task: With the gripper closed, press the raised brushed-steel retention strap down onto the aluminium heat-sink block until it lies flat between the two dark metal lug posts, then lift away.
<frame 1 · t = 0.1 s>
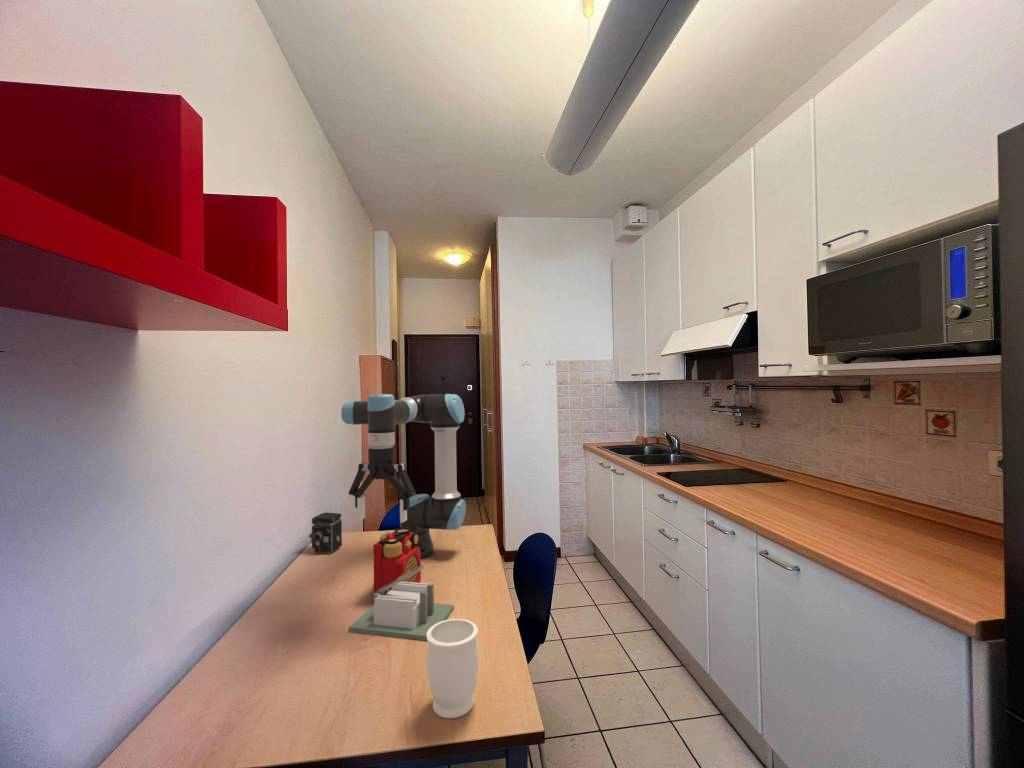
hand: (382, 520, 125), 28 cm above the table, fingers open, 13 cm apart
strap: (399, 580, 123), point 11 cm above the table, hinge at 30.0°
radio: (398, 592, 140), on the table
heatsink: (403, 619, 122), on the table
jar: (453, 705, 88), on the table
camera: (325, 551, 179), on the table
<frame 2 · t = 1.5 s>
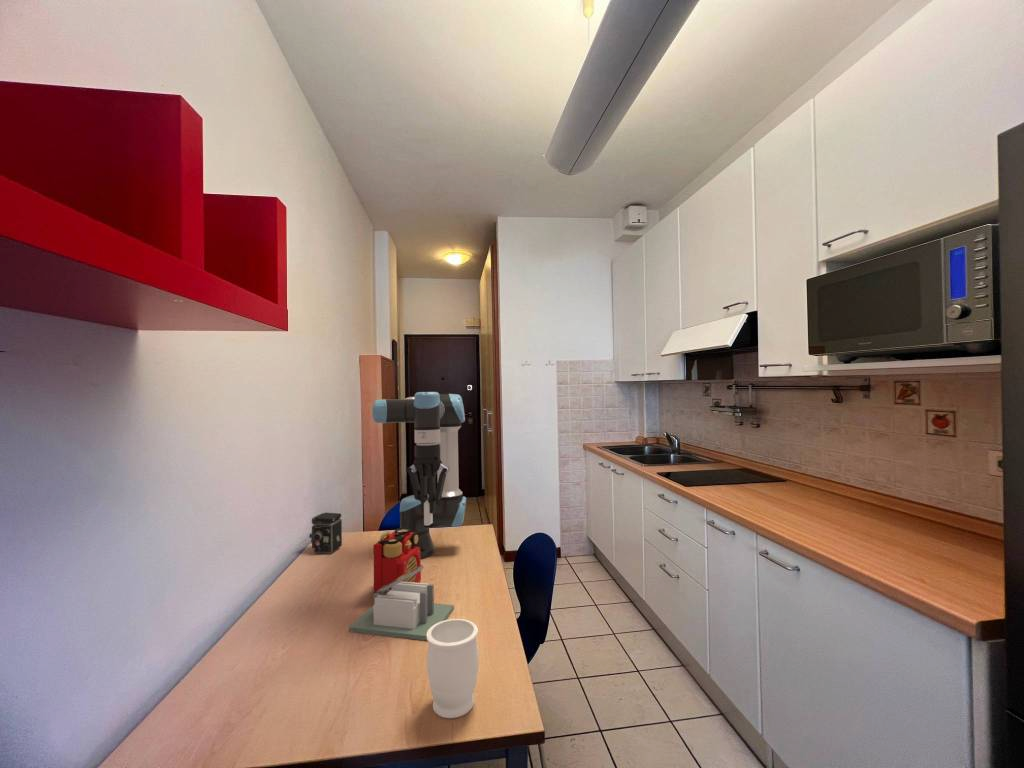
hand: (428, 523, 126), 26 cm above the table, fingers closed
nothing on the table moved.
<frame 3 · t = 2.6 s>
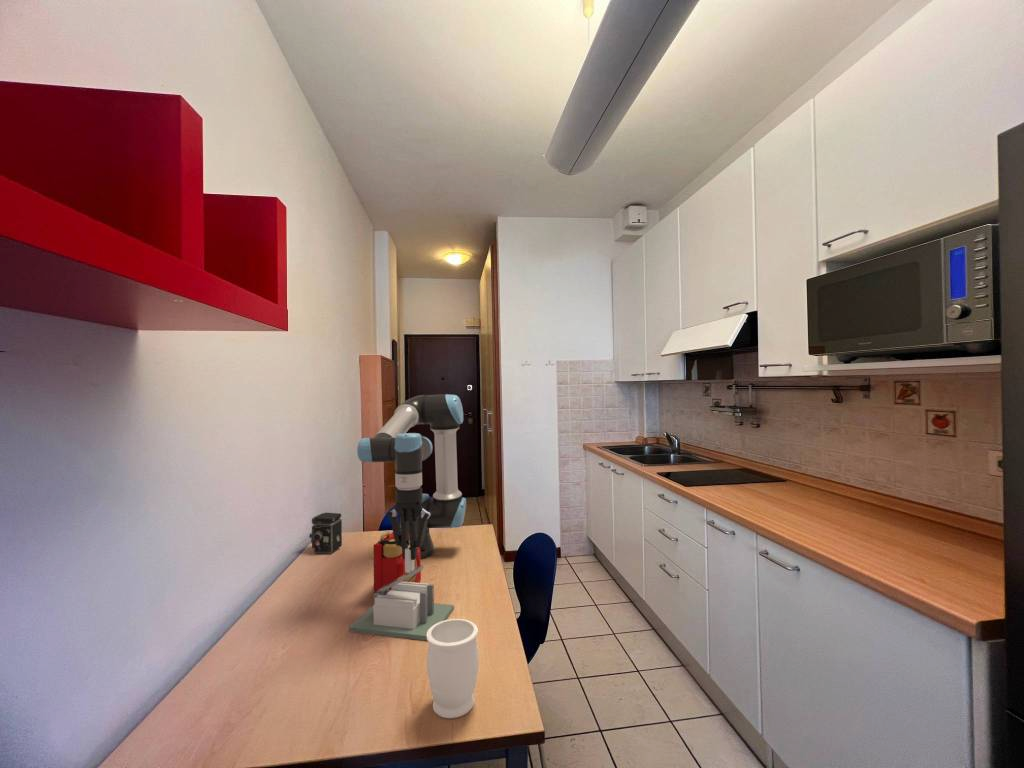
hand: (409, 570, 122), 14 cm above the table, fingers closed
strap: (399, 580, 123), point 11 cm above the table, hinge at 29.8°, touching gripper
everything else where it was.
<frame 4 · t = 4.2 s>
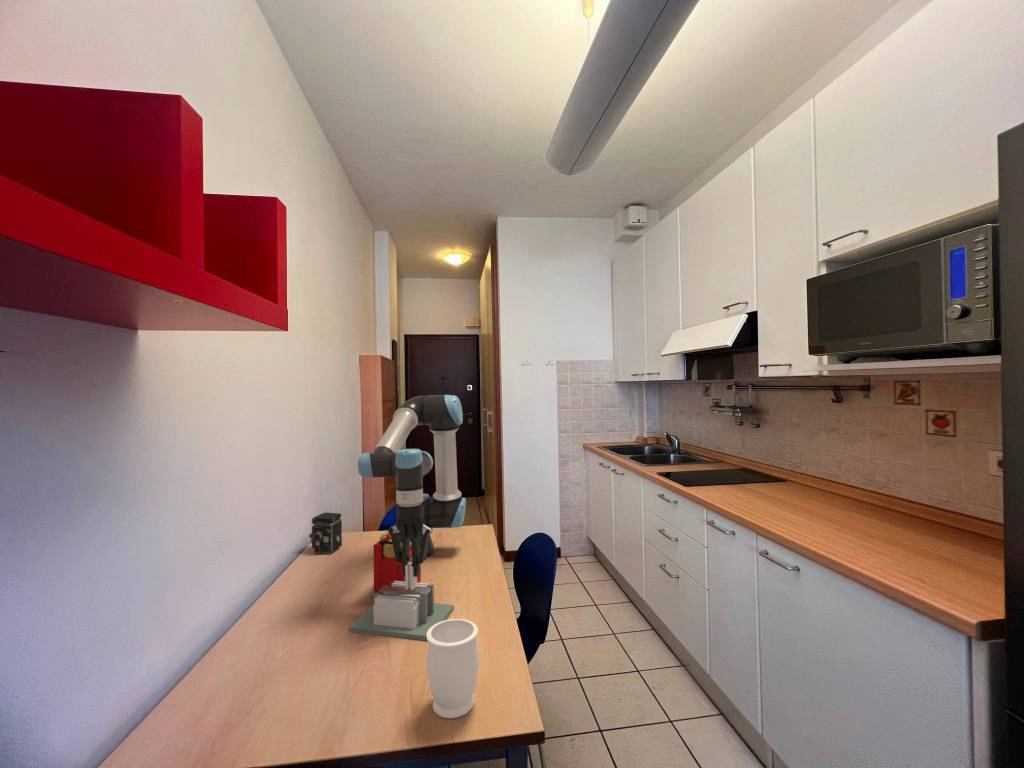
hand: (411, 587, 122), 10 cm above the table, fingers closed, pressing on strap
strap: (403, 591, 123), point 8 cm above the table, hinge at 4.1°, touching gripper
everything else where it was.
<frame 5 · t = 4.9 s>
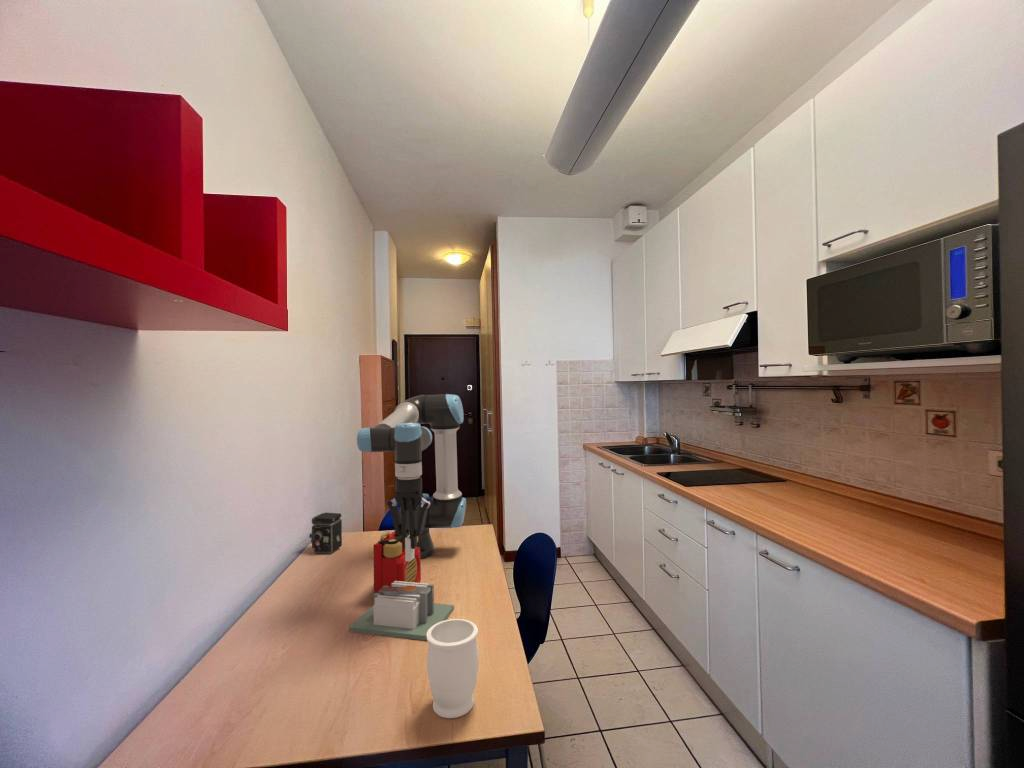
hand: (409, 559, 123), 17 cm above the table, fingers closed
strap: (403, 591, 123), point 8 cm above the table, hinge at 4.1°
everything else where it was.
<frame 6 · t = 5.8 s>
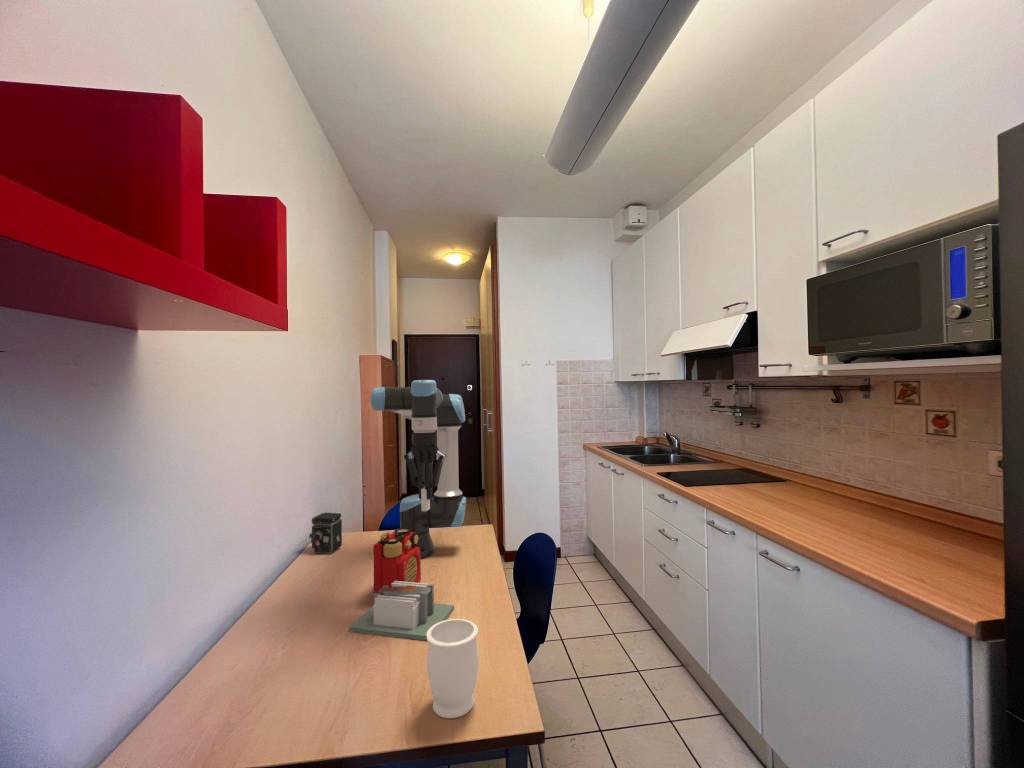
hand: (425, 509, 128), 30 cm above the table, fingers closed
nothing on the table moved.
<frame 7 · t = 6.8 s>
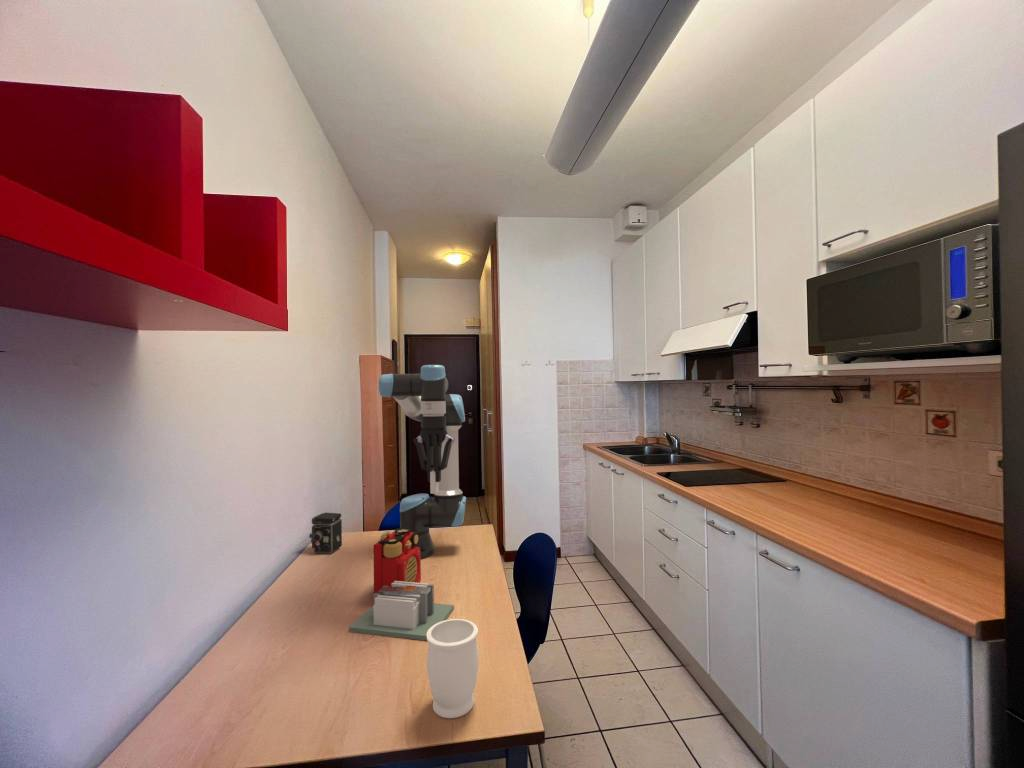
hand: (434, 492, 131), 34 cm above the table, fingers closed
nothing on the table moved.
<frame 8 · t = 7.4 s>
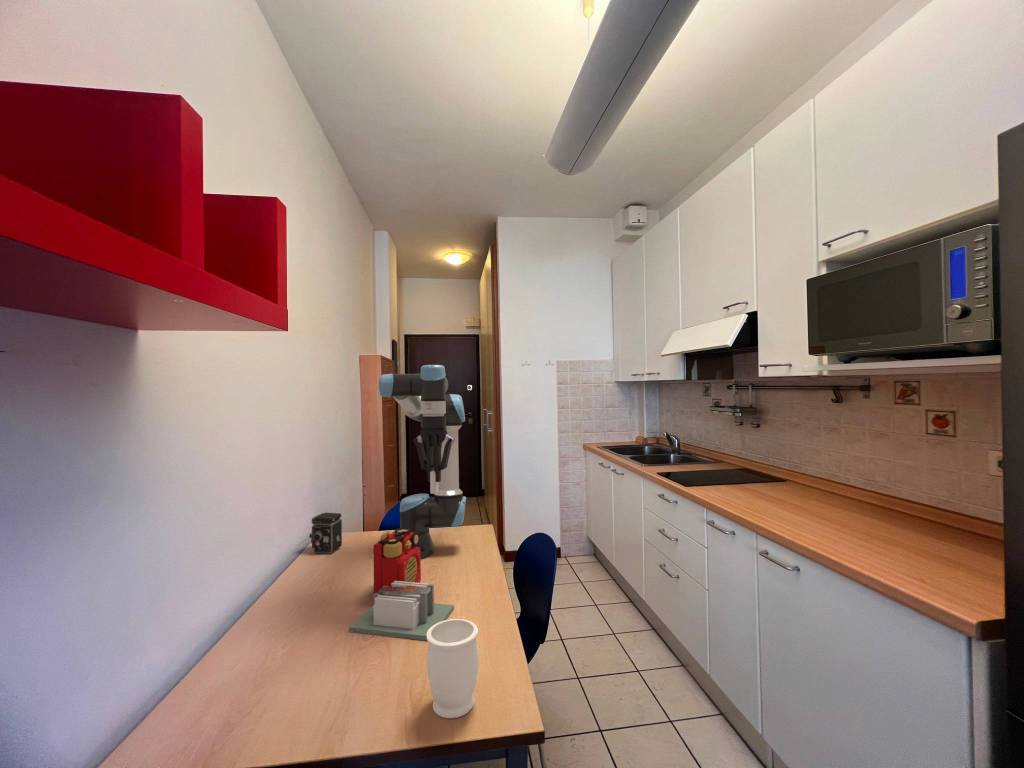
hand: (434, 492, 131), 34 cm above the table, fingers closed
nothing on the table moved.
at the end: strap at +4° (first picture: +30°); strap touching nothing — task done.
